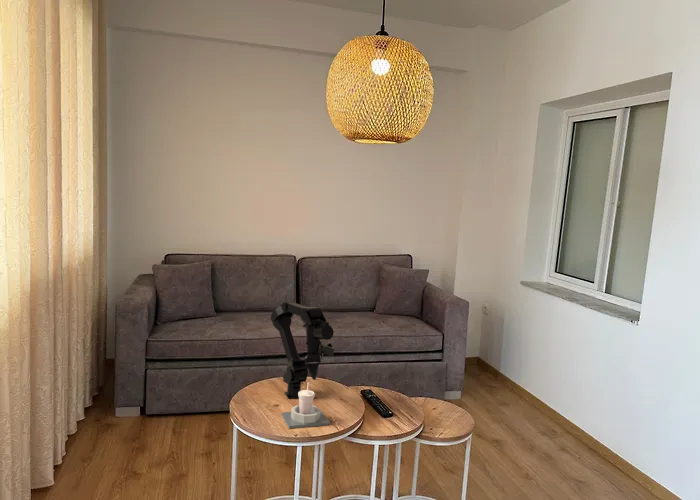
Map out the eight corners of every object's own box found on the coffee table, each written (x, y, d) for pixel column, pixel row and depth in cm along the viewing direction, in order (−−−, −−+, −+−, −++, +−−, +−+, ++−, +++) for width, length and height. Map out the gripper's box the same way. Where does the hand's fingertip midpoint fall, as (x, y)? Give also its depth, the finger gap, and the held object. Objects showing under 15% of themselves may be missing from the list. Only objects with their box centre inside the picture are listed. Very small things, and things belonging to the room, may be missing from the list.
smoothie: (303, 422, 193) (305, 386, 191) (293, 416, 198) (295, 380, 196) (316, 418, 197) (319, 383, 196) (306, 412, 202) (309, 377, 200)
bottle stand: (281, 415, 200) (281, 405, 200) (320, 411, 206) (320, 402, 206) (289, 428, 189) (289, 418, 188) (330, 424, 195) (330, 414, 195)
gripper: (332, 339, 199) (334, 380, 198) (333, 335, 218) (335, 372, 217) (303, 341, 199) (305, 382, 198) (307, 336, 218) (309, 374, 217)
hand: (315, 377), depth 207 cm, fingers open, 9 cm apart
